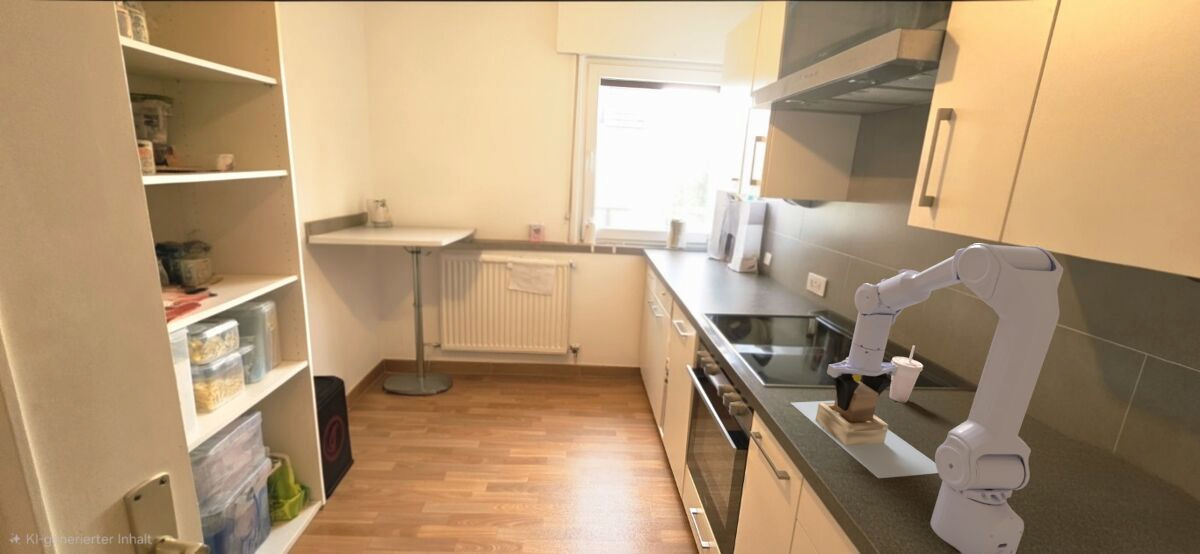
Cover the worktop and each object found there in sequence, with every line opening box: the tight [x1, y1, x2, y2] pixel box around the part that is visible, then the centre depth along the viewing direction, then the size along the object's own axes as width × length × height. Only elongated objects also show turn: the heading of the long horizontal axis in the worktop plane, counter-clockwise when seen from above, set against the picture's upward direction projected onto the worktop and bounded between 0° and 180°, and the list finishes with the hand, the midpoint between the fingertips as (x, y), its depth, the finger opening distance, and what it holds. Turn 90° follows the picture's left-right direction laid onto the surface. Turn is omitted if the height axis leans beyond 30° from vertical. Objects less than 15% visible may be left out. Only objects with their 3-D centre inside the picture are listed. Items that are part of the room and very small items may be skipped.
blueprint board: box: [790, 400, 939, 479], centre depth 96 cm, size 26×15×1 cm, turn 12°
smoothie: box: [889, 345, 924, 403], centre depth 113 cm, size 6×6×14 cm
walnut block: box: [833, 380, 880, 422], centre depth 95 cm, size 5×5×6 cm
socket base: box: [815, 403, 889, 446], centre depth 96 cm, size 9×9×4 cm
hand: (854, 407), depth 95 cm, fingers closed on walnut block, 5 cm apart
